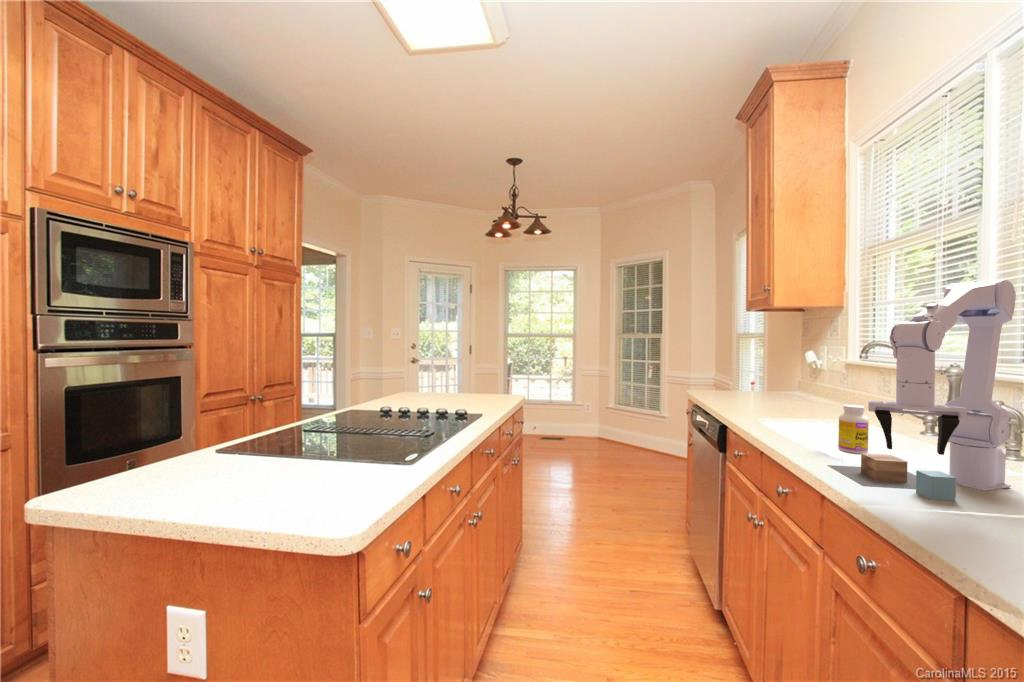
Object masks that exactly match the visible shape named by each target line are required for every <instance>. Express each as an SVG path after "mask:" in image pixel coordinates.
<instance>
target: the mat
mask: <svg viewBox="0 0 1024 682" xmlns="http://www.w3.org/2000/svg"><path fill="white" fill-rule="evenodd" d="M826 466H828V467H829V468H831V469H833V470H834V471H836V472H838V473H840V474H842V475H843V476H845V477H847V478H848V479H850V480H852V481H853V482H855V483H857V484H859V485H860V486H862V487H871V488H872V487H873V488H888V489H891V488H892V489H906V490H916V474H914V473H911V472H909V471H907V482H900V481H882V480H875V479H873V478H871V477H869V476H867V475H865V474H863V473H861V466H855V465H854V466H851V465H830V464H827V465H826Z"/></svg>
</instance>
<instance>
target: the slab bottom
mask: <svg viewBox="0 0 1024 682" xmlns="http://www.w3.org/2000/svg"><path fill="white" fill-rule="evenodd" d="M860 467H861V473H863V474H865V475H867V476H869V477H871V478H873V479H875V480H882V481H900V482H907V472H908V471H907V472H901V471H882V470H875V469H873V468H871V467H869V466H867V465H865V464H862V463H861V462H860Z"/></svg>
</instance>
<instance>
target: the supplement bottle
mask: <svg viewBox="0 0 1024 682" xmlns="http://www.w3.org/2000/svg"><path fill="white" fill-rule="evenodd" d="M842 409H843V411H844V413H842V414H840V415H839V416H838V441H837V442H838V444H837V447H838V451H840V452H841V453H845V454H850V455H859V456H861V453H863V454H869V453H868V452H869V424H870V423H869V422H870V420H869V418H868V417H867V416H866V415H864V413H865V406H863V405H857V404H844V405H843V407H842Z"/></svg>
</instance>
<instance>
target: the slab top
mask: <svg viewBox="0 0 1024 682" xmlns="http://www.w3.org/2000/svg"><path fill="white" fill-rule="evenodd" d="M861 463H862V464H865V465H867V466H869V467H871V468H873V469H875V470H882V471H901V472H908V461H906V460H904V459H902V458H900V457H896V456H894V455H892V454H881V453H880V454H878V453H867V454H863V453H861V455H860V464H861Z"/></svg>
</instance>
